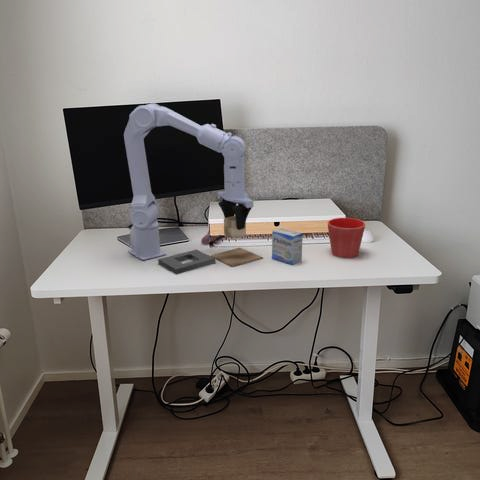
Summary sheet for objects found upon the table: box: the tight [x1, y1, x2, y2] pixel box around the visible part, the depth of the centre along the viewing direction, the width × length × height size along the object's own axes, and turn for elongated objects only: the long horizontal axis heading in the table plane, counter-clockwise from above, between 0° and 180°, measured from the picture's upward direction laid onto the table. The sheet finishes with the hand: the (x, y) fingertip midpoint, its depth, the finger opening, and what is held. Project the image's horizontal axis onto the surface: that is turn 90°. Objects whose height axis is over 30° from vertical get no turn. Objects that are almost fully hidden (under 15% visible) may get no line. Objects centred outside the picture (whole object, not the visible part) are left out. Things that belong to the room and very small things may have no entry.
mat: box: [210, 247, 264, 268], centre depth 150 cm, size 11×11×1 cm
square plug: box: [223, 216, 247, 239], centre depth 147 cm, size 4×4×5 cm
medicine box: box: [271, 228, 304, 266], centre depth 146 cm, size 8×4×9 cm, turn 47°
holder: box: [157, 249, 217, 275], centre depth 146 cm, size 10×13×2 cm
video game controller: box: [200, 230, 220, 245], centre depth 165 cm, size 10×5×7 cm, turn 169°
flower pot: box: [327, 217, 366, 259], centre depth 150 cm, size 11×11×10 cm
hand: (235, 226), depth 147 cm, fingers closed on square plug, 4 cm apart
